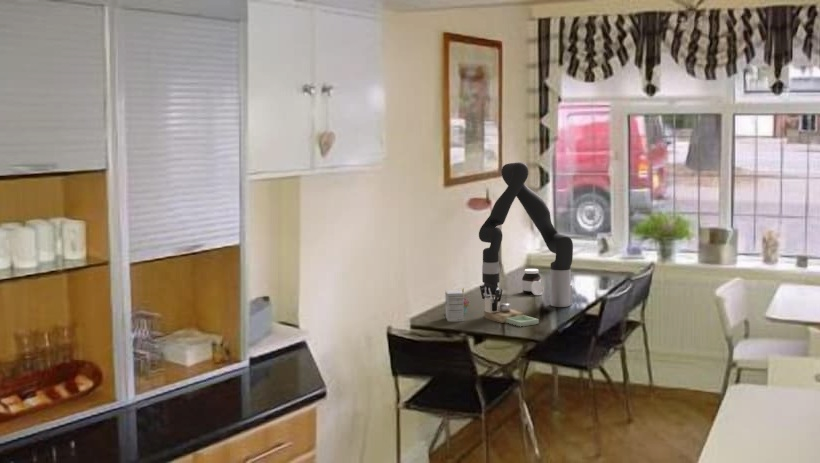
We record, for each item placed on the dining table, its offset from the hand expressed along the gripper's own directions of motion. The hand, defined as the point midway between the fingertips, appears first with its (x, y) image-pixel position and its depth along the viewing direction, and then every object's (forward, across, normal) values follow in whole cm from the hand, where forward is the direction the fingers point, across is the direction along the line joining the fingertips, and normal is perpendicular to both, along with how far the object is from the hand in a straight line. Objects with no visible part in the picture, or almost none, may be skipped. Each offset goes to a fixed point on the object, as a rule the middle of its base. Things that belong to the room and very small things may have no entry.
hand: (491, 309), depth 434 cm
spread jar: (+4, +31, -50) cm, 58 cm away
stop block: (+1, 0, 0) cm, 1 cm away
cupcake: (+4, +17, +5) cm, 18 cm away
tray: (+4, -16, -5) cm, 17 cm away
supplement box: (+4, +8, +14) cm, 17 cm away
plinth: (+4, -4, -5) cm, 7 cm away
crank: (0, 0, -5) cm, 5 cm away
